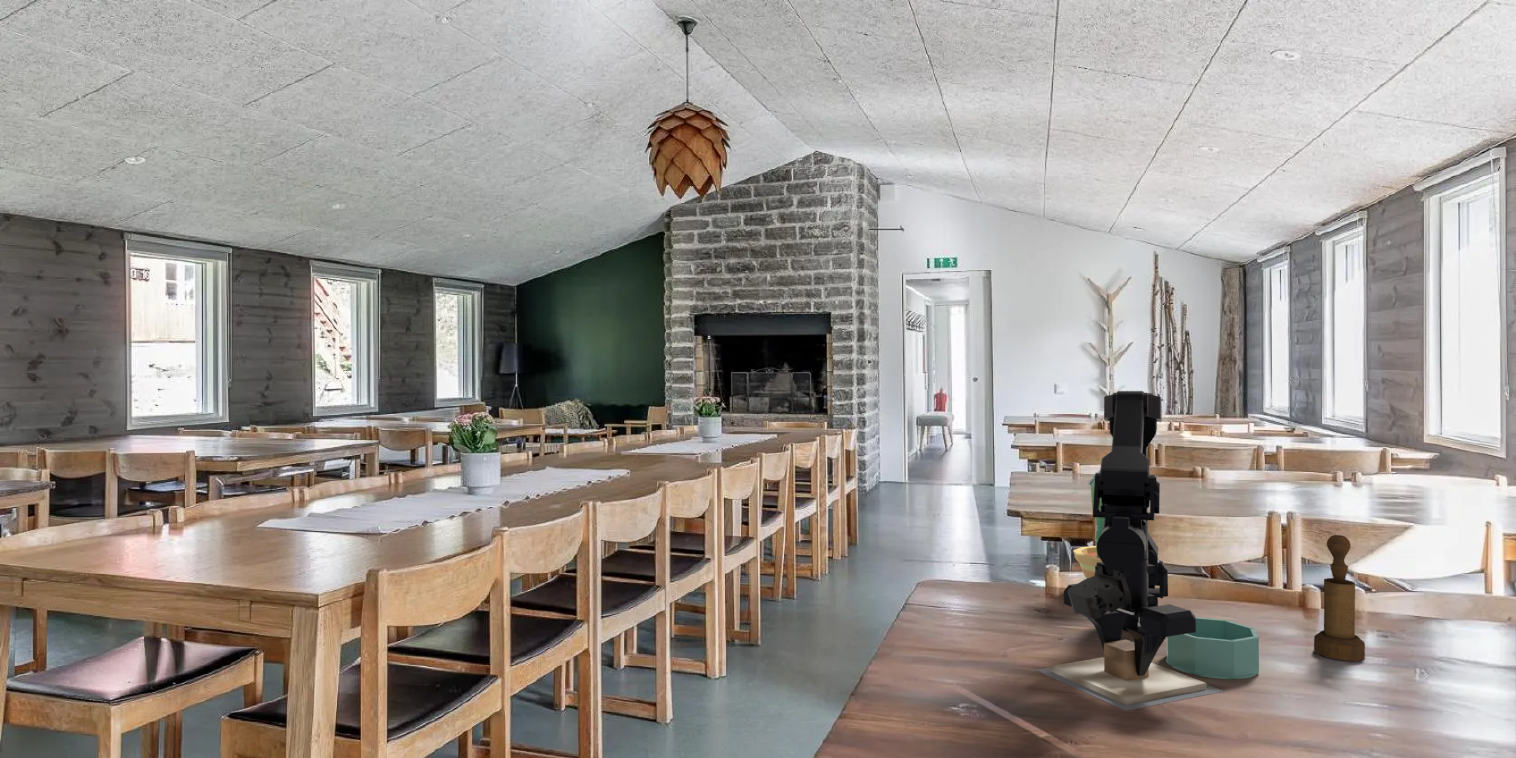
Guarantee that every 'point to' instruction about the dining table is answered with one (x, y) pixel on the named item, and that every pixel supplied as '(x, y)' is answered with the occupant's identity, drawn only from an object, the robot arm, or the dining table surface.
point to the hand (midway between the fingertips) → (1126, 669)
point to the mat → (1135, 705)
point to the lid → (1126, 676)
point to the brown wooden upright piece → (1339, 609)
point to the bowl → (1216, 650)
